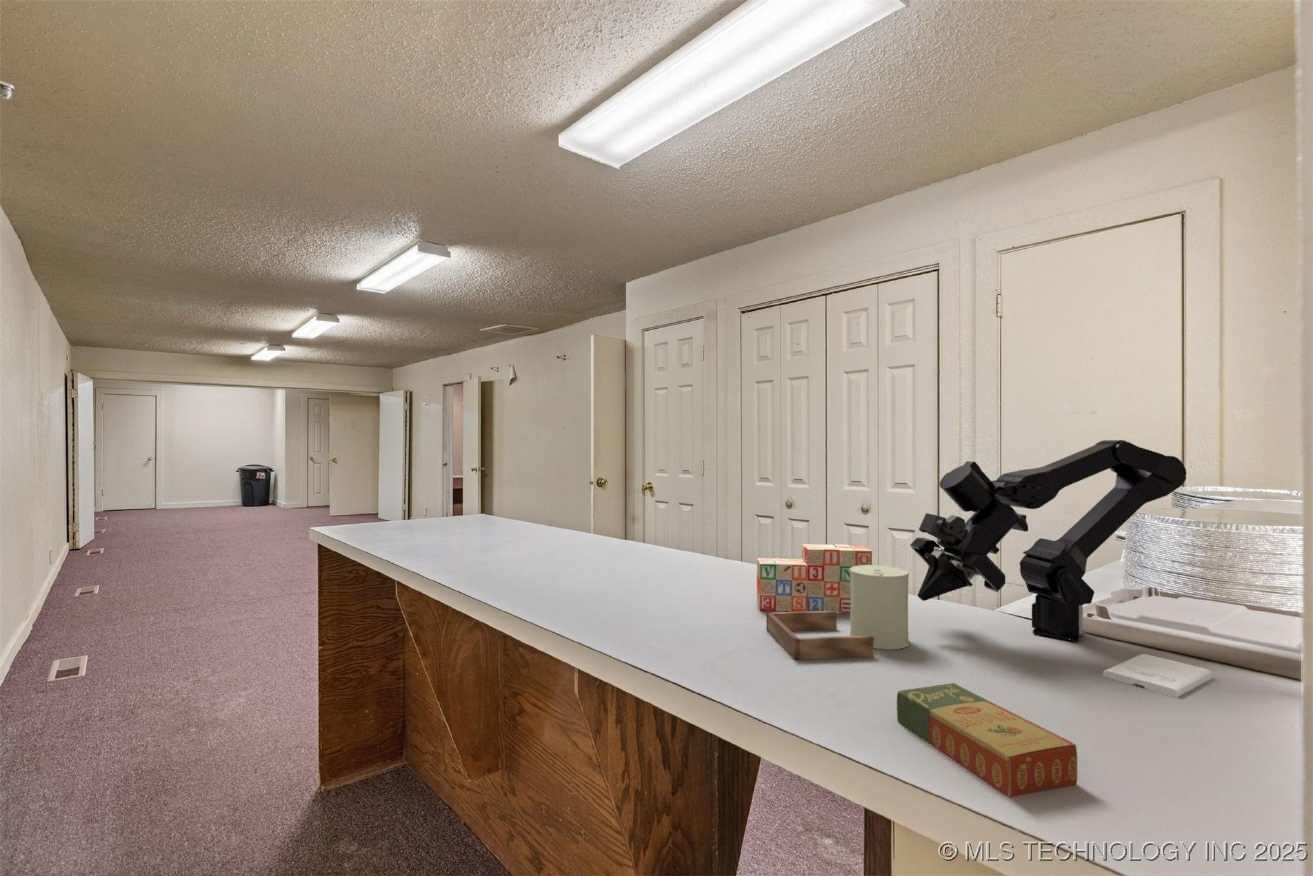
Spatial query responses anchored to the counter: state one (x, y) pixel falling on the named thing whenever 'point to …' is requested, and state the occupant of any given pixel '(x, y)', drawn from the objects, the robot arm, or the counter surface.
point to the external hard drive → (1159, 674)
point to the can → (880, 605)
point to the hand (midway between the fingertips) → (920, 598)
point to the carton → (989, 739)
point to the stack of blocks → (810, 579)
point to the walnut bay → (815, 646)
